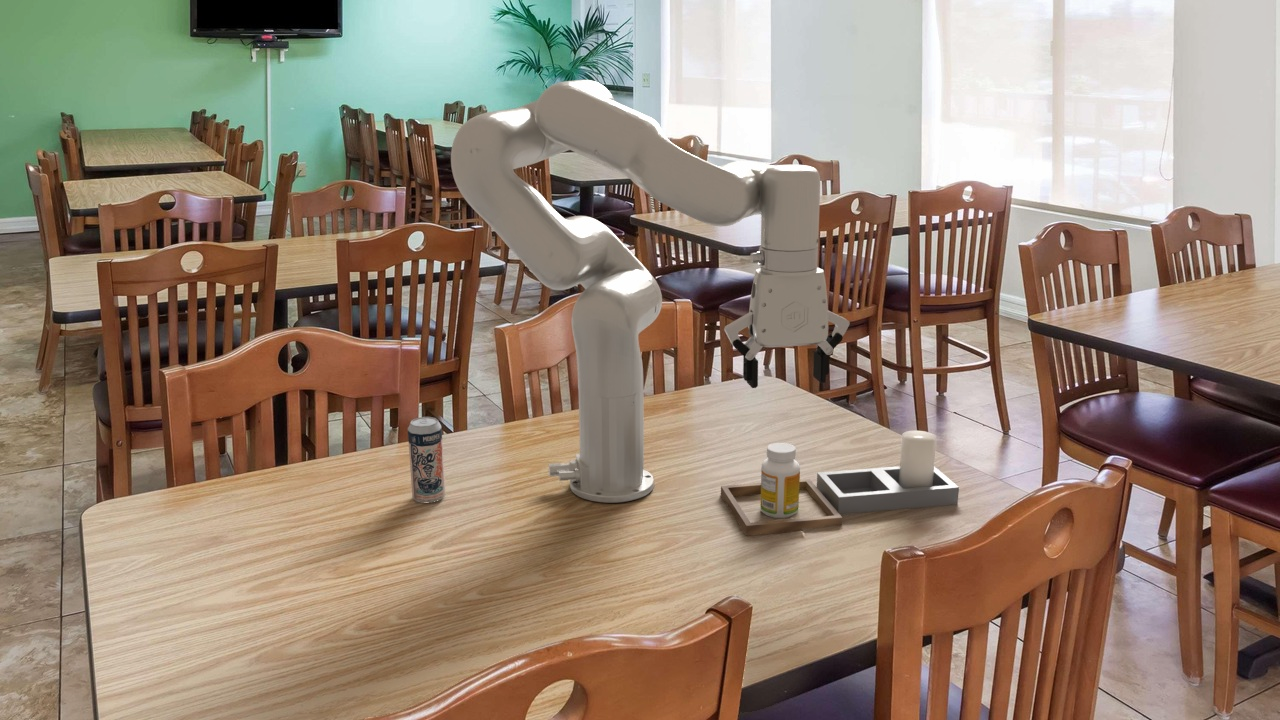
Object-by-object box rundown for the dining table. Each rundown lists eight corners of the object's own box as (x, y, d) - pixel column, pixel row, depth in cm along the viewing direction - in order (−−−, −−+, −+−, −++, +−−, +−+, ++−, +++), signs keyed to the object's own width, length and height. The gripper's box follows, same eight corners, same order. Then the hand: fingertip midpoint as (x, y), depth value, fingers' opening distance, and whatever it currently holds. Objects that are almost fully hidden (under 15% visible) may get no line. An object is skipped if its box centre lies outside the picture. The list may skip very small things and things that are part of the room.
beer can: (413, 506, 156) (408, 428, 153) (411, 493, 160) (405, 417, 157) (447, 503, 157) (442, 425, 154) (444, 490, 162) (439, 414, 158)
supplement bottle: (797, 503, 157) (800, 441, 154) (799, 519, 151) (801, 455, 149) (760, 502, 157) (761, 439, 154) (760, 518, 152) (762, 453, 149)
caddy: (838, 516, 152) (839, 497, 151) (816, 491, 161) (817, 472, 160) (957, 506, 155) (959, 487, 155) (929, 482, 164) (931, 463, 163)
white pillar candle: (906, 501, 156) (910, 443, 153) (892, 488, 161) (896, 431, 158) (937, 499, 157) (942, 441, 154) (923, 486, 161) (927, 429, 159)
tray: (746, 535, 147) (746, 525, 146) (720, 495, 159) (720, 485, 159) (841, 527, 149) (842, 517, 149) (809, 488, 162) (809, 478, 161)
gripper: (733, 268, 139) (732, 395, 144) (861, 262, 142) (855, 386, 147) (718, 257, 146) (717, 378, 151) (840, 251, 149) (836, 370, 154)
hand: (785, 382), depth 149 cm, fingers open, 9 cm apart
